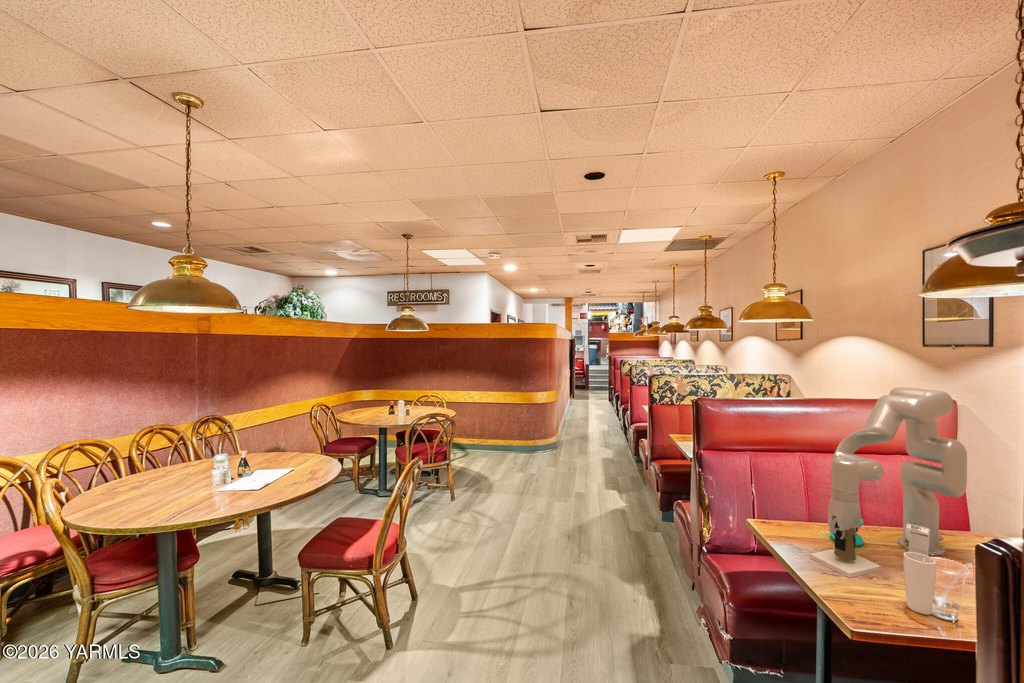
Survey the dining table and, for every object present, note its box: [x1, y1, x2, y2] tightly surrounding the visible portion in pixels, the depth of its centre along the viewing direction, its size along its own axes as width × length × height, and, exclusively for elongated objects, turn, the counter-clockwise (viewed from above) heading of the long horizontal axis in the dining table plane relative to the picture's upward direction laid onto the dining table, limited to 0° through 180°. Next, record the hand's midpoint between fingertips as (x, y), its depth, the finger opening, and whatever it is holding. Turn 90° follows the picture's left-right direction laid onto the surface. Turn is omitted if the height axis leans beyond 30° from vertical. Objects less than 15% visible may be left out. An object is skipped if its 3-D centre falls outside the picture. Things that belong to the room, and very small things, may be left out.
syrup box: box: [904, 524, 930, 557], centre depth 140 cm, size 6×6×14 cm
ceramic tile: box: [809, 548, 882, 579], centre depth 144 cm, size 15×13×2 cm
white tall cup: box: [902, 551, 937, 616], centre depth 120 cm, size 7×7×15 cm
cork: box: [834, 526, 857, 560], centre depth 144 cm, size 6×6×11 cm
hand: (845, 547), depth 144 cm, fingers closed on cork, 4 cm apart
